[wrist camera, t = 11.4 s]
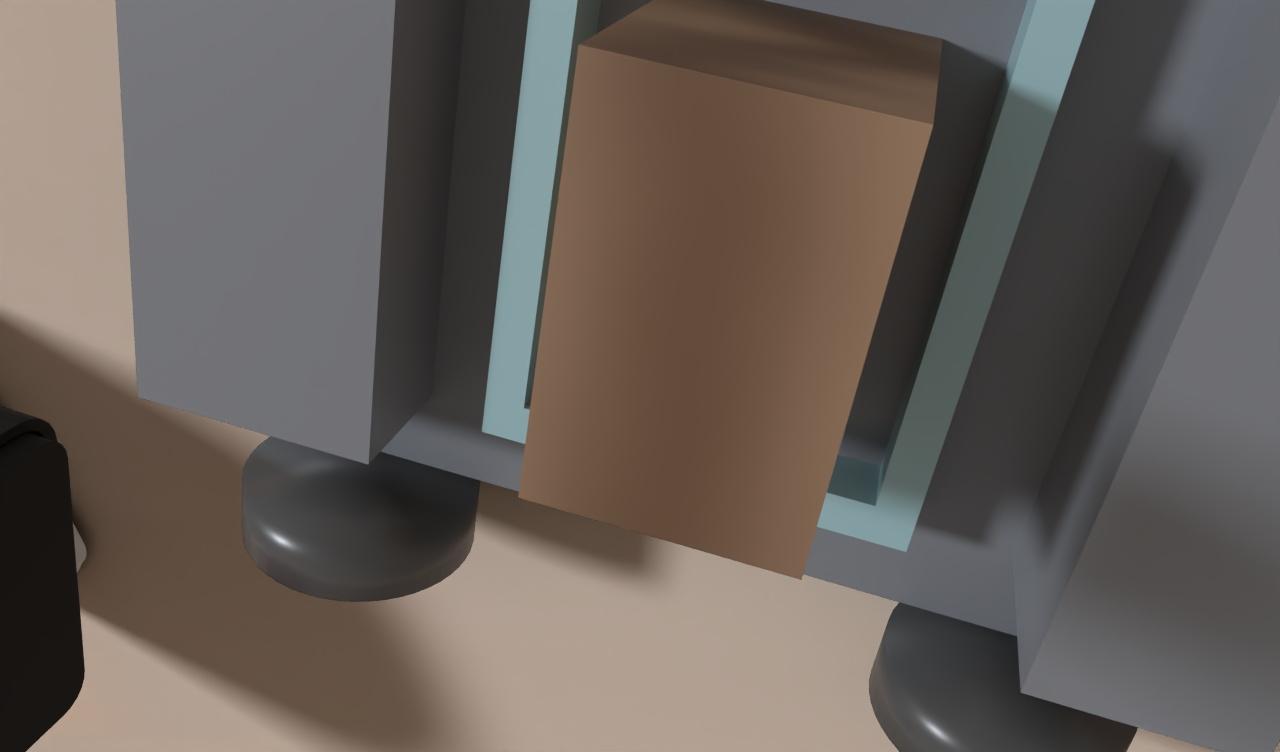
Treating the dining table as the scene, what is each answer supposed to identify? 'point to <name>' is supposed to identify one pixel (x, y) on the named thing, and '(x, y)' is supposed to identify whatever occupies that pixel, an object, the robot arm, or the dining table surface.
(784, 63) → the brown cardboard carton
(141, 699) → the dining table surface
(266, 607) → the dining table surface
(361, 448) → the chassis
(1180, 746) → the dining table surface
